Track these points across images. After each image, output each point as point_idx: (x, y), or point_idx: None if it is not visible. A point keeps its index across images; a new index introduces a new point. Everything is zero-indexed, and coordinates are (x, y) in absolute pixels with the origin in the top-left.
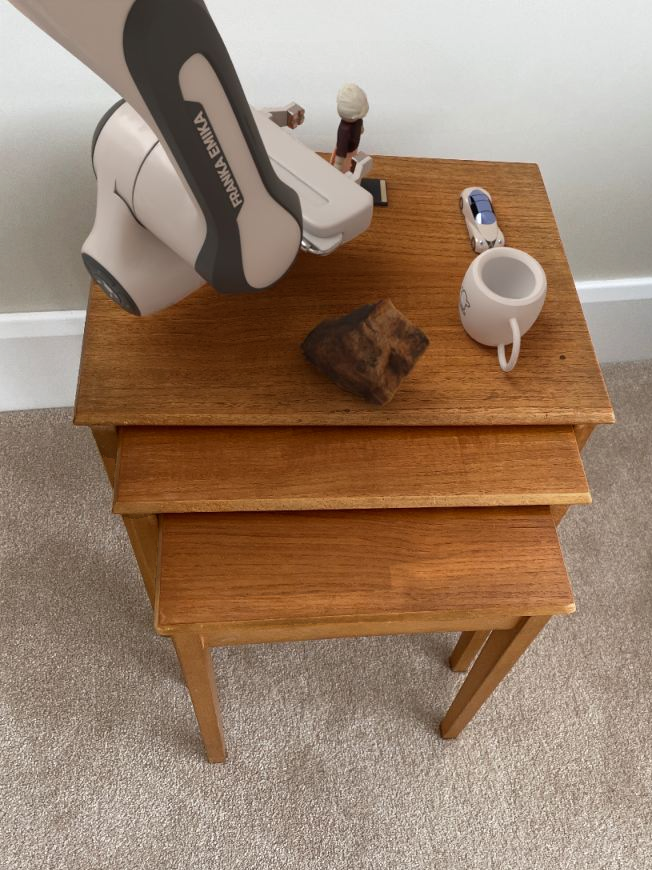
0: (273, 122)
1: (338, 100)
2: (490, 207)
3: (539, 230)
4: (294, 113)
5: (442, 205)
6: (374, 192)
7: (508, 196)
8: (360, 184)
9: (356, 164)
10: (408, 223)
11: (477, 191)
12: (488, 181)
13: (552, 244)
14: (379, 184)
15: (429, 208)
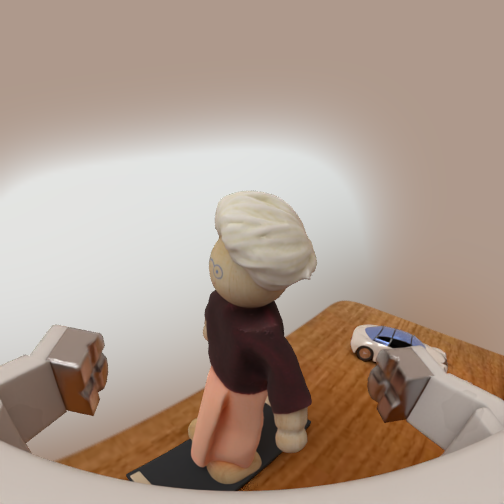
0: (19, 454)
1: (246, 237)
2: (406, 332)
3: (417, 329)
4: (80, 360)
5: (348, 371)
6: (274, 421)
7: (364, 322)
8: None
9: (442, 383)
10: (360, 422)
11: (372, 328)
12: (335, 321)
13: (436, 331)
14: (265, 404)
15: (345, 385)
